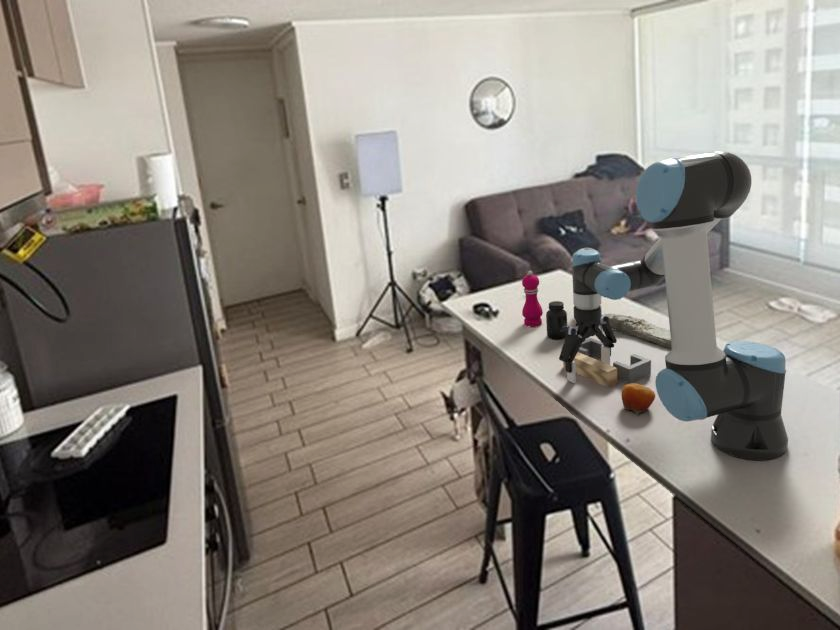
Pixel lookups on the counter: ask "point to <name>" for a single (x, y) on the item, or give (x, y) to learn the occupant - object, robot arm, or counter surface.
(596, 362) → the oak slat
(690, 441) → the counter surface
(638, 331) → the long grey stone
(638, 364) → the end caps
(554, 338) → the supplement bottle
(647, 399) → the fruit
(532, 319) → the pepper mill
